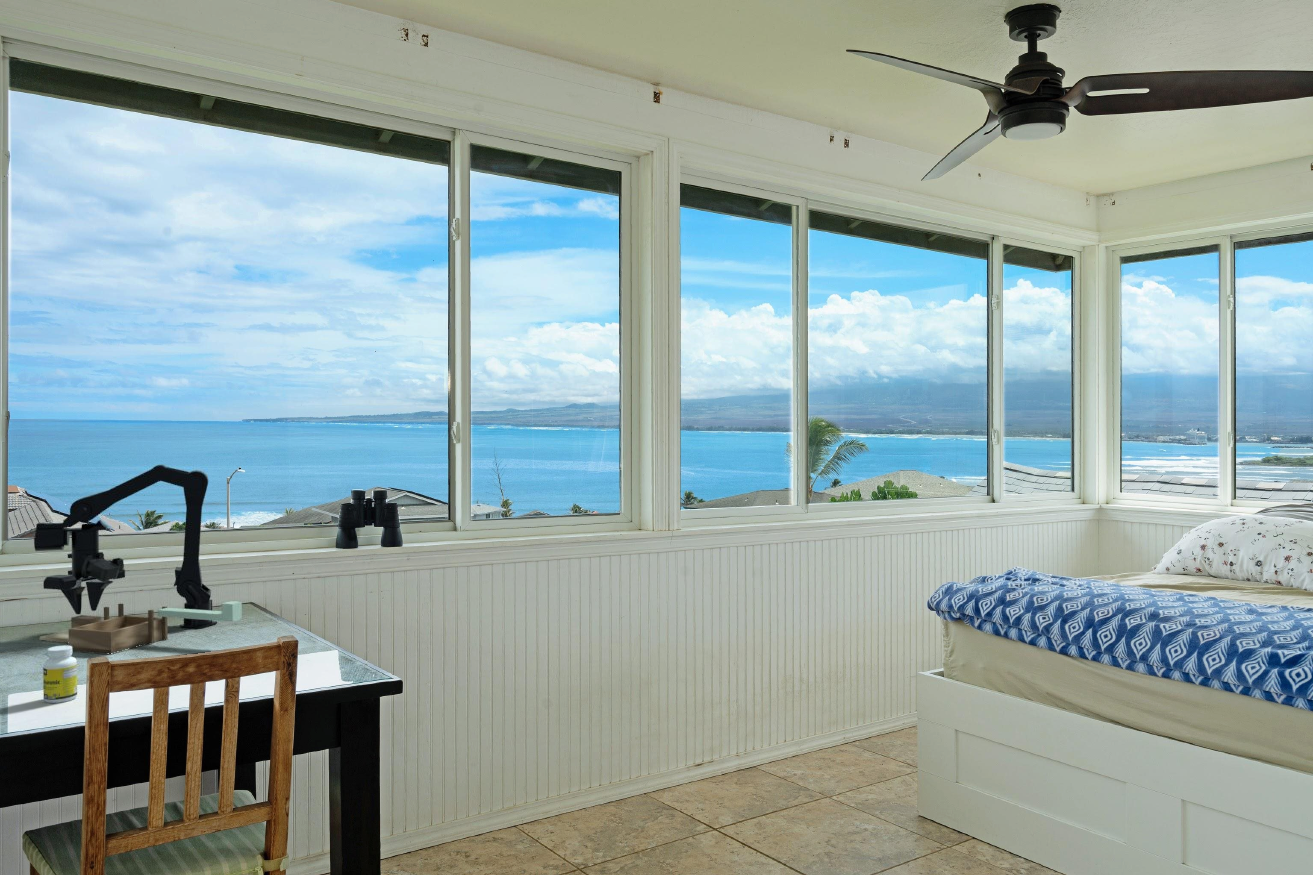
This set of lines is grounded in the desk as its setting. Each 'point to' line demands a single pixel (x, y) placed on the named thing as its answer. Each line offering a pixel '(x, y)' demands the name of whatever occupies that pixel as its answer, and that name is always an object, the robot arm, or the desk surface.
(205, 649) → the desk surface
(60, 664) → the supplement bottle
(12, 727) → the desk surface
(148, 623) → the box
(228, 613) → the key
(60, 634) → the lid
